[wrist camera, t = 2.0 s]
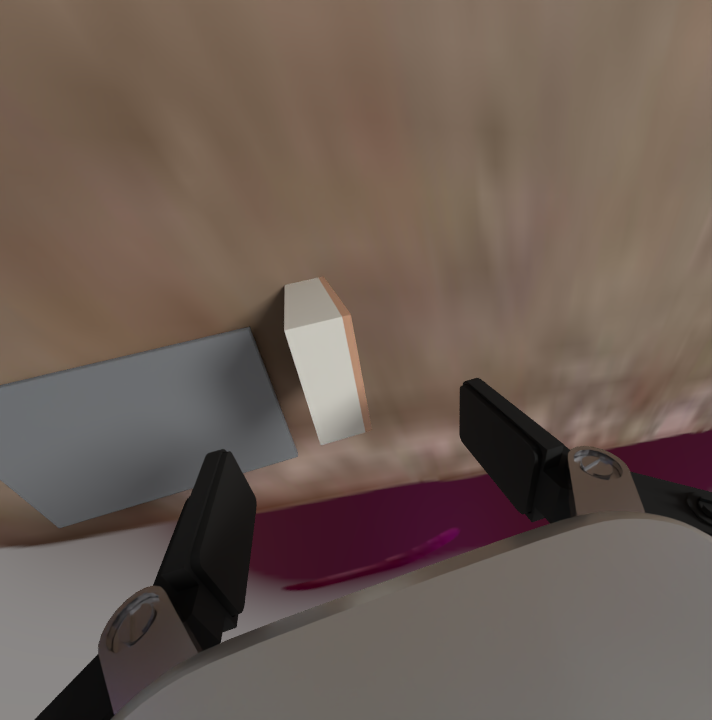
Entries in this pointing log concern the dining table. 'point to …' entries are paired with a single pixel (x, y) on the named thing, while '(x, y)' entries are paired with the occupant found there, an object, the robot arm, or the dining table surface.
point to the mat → (138, 426)
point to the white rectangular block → (326, 359)
